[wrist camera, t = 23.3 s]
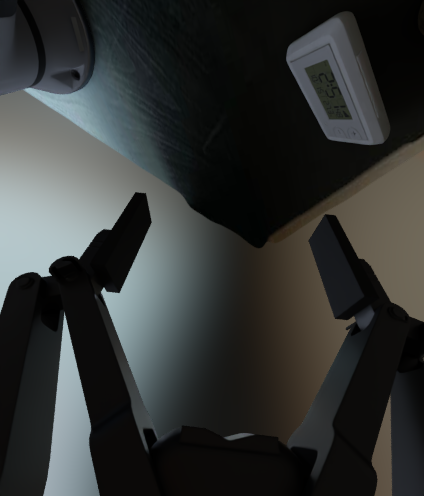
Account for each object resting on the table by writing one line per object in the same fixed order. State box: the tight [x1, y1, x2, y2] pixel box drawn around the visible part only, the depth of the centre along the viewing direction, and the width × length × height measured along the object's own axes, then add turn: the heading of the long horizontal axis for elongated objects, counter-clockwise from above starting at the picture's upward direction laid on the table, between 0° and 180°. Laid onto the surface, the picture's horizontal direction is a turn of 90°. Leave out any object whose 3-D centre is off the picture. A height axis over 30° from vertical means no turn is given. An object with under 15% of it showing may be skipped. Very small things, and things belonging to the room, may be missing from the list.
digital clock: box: [286, 11, 390, 145], centre depth 27 cm, size 16×9×11 cm, turn 33°
